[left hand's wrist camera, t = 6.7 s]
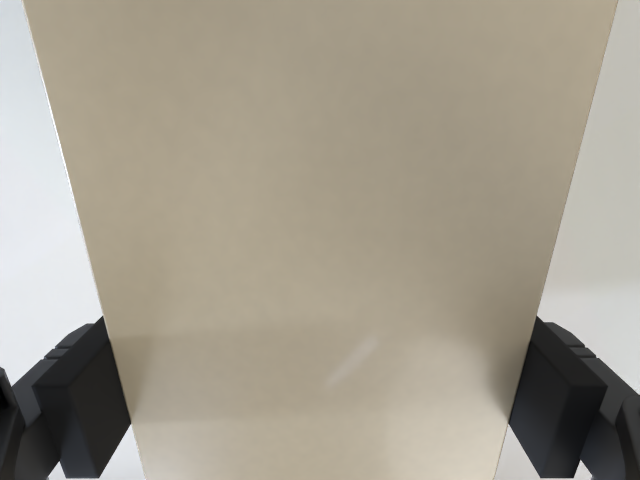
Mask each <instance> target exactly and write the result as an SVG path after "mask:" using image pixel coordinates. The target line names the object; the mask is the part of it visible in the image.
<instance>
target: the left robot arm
mask: <svg viewBox="0 0 640 480" xmlns="http://www.w3.org/2000/svg"><path fill="white" fill-rule="evenodd" d="M130 424H131V421H130V417H129V413H128V409H127V406H126V402H125V398H124V394H123V390H122V386H121V382H120V379H119V375H118V371H117V367H116V363H115V359H114V356H113V352H112V348H111V344H110V340H109V336H108V332H107V329H106V325H105V321H104V317H103V316H102V317H101V318H100V319H99V320H98V321H97V322H96V323H95V324H85V325H84V326H82V327H80V328H78V329H77V330H75V331H73V332H71V333H70V334H68V335H67V336H66V337H65V338H64V339H63V340H62V341H61V342H60V343H58V344H57V345H56V346H55V349H52V350H51V351H50V352H49V353H48V354H47V355H45V356H44V359H43V360H40V361H39V362H38V363H37V364H36V365H35V366H34V367H32V368H31V369H30V370H29V371H28V372H27V373H26V374H25V375H24V376H23V377H22V378H21V379H19V380H18V381H17V382H16V383H15V384H14V385H13V386H12V387H11V385H10V382H9V380H8V377H7V375H6V372H5V370H4V369H3V368H1V367H0V480H49V478H48V476H49V474H50V473H51V472H52V470H53V469H54V467H55V466H56V465H57V463H58V462H59V461H60V464H61V466H62V469H63V471H64V474H65V477H66V478H99V477H100V476H101V474H102V472H103V470H104V469H105V467H106V465H107V464H108V462H109V460H110V459H111V457H112V455H113V453H114V452H115V450H116V448H117V447H118V445H119V443H120V442H121V440H122V438H123V436H124V435H125V433H126V431H127V430H128V428H129V426H130ZM509 425H510V427H511V428H512V430H513V432H514V434H515V435H516V437H517V439H518V440H519V442H520V444H521V446H522V447H523V449H524V451H525V452H526V454H527V456H528V457H529V459H530V461H531V463H532V464H533V466H534V468H535V469H536V471H537V473H538V475H539V476H540V478H574V475H575V473H576V470H577V467H578V465H579V462H580V460H582V462H583V463H584V465H585V466H586V467H587V469H588V470H589V471H590V473H591V474H592V478H591V480H640V395H638V394H637V393H636V392H635V391H634V390H633V389H632V388H631V387H630V386H629V385H628V384H626V383H625V382H624V381H623V380H622V379H621V378H620V377H619V376H618V375H617V374H616V373H615V372H613V371H612V370H611V369H610V368H609V367H608V366H607V365H606V364H605V363H604V362H603V361H601V360H600V359H599V358H596V355H595V354H594V353H593V352H592V351H591V350H589V349H588V348H585V345H584V344H583V343H582V342H581V341H580V340H579V339H577V338H576V337H575V336H574V335H573V334H572V333H571V332H569V331H567V330H565V329H564V328H562V327H560V326H558V325H557V324H555V323H553V322H543V321H542V320H541V319H540V318H539V317H538V316H537V315H536V319H535V323H534V327H533V331H532V335H531V339H530V342H529V346H528V350H527V354H526V358H525V362H524V366H523V369H522V373H521V377H520V381H519V385H518V389H517V392H516V396H515V400H514V404H513V408H512V412H511V416H510V419H509Z"/></svg>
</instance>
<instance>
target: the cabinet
mask: <svg viewBox="0 0 640 480" xmlns="http://www.w3.org/2000/svg"><path fill="white" fill-rule="evenodd" d="M21 1H22V5H23V9H24V13H25V16H26V20H27V24H28V28H29V32H30V36H31V40H32V43H33V47H34V51H35V55H36V59H37V63H38V67H39V70H40V74H41V78H42V82H43V86H44V90H45V93H46V97H47V101H48V105H49V109H50V113H51V117H52V120H53V124H54V128H55V132H56V136H57V140H58V144H59V147H60V151H61V155H62V159H63V163H64V167H65V171H66V174H67V178H68V182H69V186H70V190H71V194H72V198H73V201H74V205H75V209H76V213H77V217H78V221H79V225H80V228H81V232H82V236H83V240H84V244H85V248H86V251H87V255H88V259H89V263H90V267H91V271H92V275H93V278H94V282H95V286H96V290H97V294H98V298H99V302H100V305H101V309H102V313H103V317H104V321H105V325H106V329H107V332H108V336H109V340H110V344H111V348H112V352H113V356H114V359H115V363H116V367H117V371H118V375H119V379H120V382H121V386H122V390H123V394H124V398H125V402H126V406H127V409H128V413H129V417H130V421H131V425H132V429H133V433H134V436H135V440H136V444H137V448H138V452H139V456H140V460H141V463H142V467H143V471H144V475H145V479H146V480H494V477H495V473H496V470H497V466H498V462H499V458H500V454H501V450H502V446H503V443H504V439H505V435H506V431H507V427H508V423H509V419H510V416H511V412H512V408H513V404H514V400H515V396H516V392H517V389H518V385H519V381H520V377H521V373H522V369H523V366H524V362H525V358H526V354H527V350H528V346H529V342H530V339H531V335H532V331H533V327H534V323H535V319H536V315H537V312H538V308H539V304H540V300H541V296H542V292H543V288H544V285H545V281H546V277H547V273H548V269H549V265H550V261H551V258H552V254H553V250H554V246H555V242H556V238H557V234H558V231H559V227H560V223H561V219H562V215H563V211H564V208H565V204H566V200H567V196H568V192H569V188H570V184H571V181H572V177H573V173H574V169H575V165H576V161H577V157H578V154H579V150H580V146H581V142H582V138H583V134H584V130H585V127H586V123H587V119H588V115H589V111H590V107H591V103H592V100H593V96H594V92H595V88H596V84H597V80H598V77H599V73H600V69H601V65H602V61H603V57H604V53H605V50H606V46H607V42H608V38H609V34H610V30H611V26H612V23H613V19H614V15H615V11H616V7H617V3H618V0H21Z"/></svg>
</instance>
